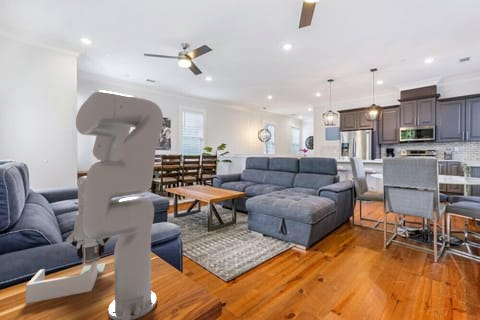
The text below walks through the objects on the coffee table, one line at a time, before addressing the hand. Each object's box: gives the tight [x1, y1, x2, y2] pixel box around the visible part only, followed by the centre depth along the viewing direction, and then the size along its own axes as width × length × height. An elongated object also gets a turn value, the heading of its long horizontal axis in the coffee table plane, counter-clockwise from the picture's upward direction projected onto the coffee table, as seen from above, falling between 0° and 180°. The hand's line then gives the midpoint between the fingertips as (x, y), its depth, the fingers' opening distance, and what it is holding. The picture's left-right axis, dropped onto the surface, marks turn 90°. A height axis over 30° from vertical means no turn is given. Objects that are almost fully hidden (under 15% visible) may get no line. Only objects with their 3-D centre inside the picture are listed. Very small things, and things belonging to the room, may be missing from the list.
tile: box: [79, 262, 107, 275], centre depth 87 cm, size 8×8×1 cm
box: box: [25, 261, 98, 304], centre depth 75 cm, size 10×16×6 cm, turn 113°
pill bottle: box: [81, 238, 101, 266], centre depth 87 cm, size 6×6×10 cm
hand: (91, 255), depth 87 cm, fingers closed on pill bottle, 5 cm apart
